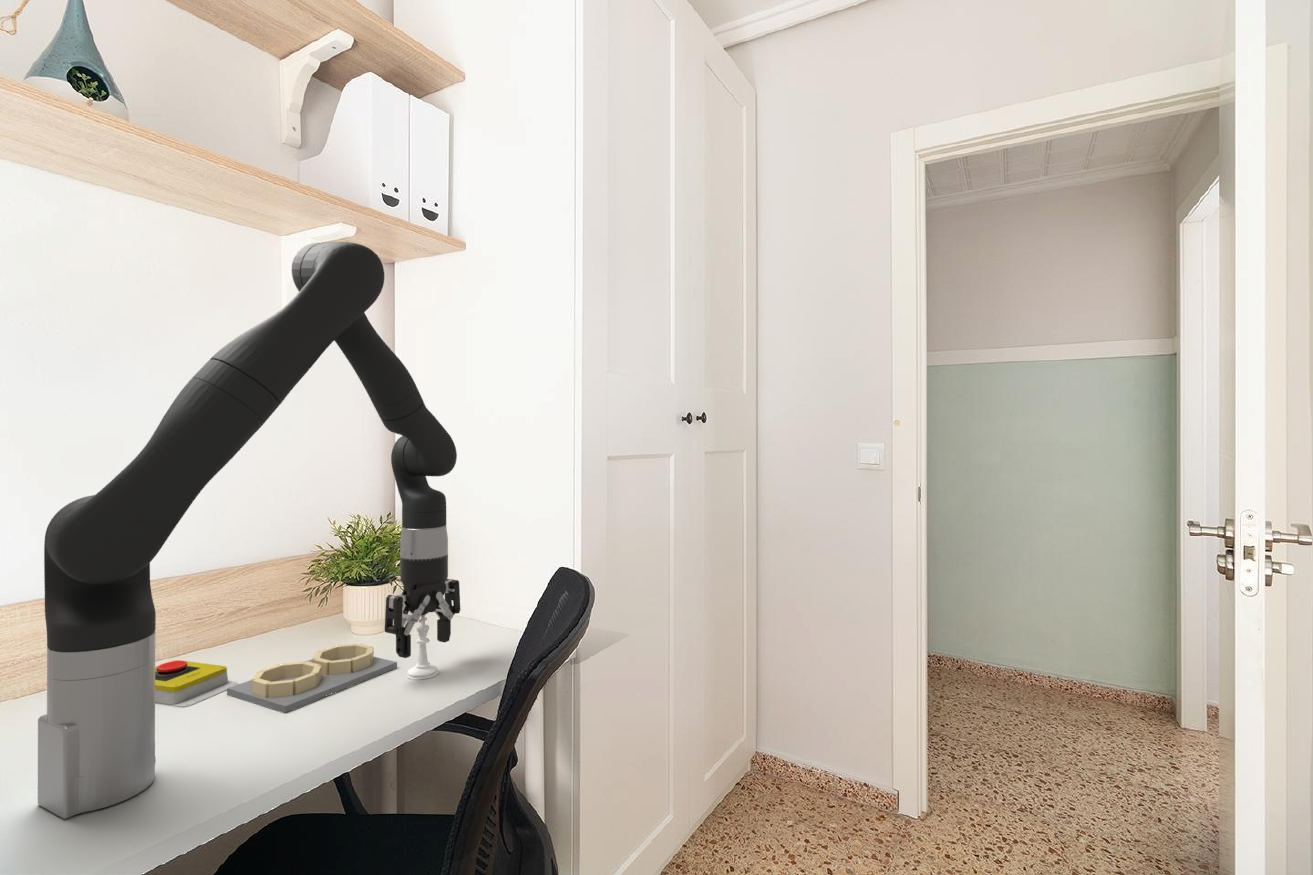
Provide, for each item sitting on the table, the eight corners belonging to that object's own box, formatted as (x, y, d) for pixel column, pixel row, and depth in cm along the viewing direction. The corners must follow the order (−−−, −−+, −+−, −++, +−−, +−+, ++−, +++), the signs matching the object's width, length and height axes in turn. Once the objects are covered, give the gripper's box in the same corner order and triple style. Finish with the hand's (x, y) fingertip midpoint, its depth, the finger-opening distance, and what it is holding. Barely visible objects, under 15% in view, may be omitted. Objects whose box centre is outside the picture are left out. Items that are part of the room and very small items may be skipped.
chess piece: (443, 670, 109) (444, 611, 109) (427, 681, 104) (428, 620, 104) (417, 667, 110) (418, 609, 110) (400, 678, 105) (401, 618, 105)
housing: (285, 713, 92) (285, 692, 92) (227, 694, 98) (227, 675, 98) (397, 667, 110) (397, 650, 110) (341, 654, 116) (341, 638, 116)
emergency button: (169, 650, 106) (241, 659, 102) (169, 677, 106) (241, 687, 102) (109, 670, 97) (185, 681, 93) (109, 699, 97) (185, 711, 93)
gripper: (406, 562, 99) (407, 666, 99) (471, 547, 112) (471, 639, 112) (373, 558, 102) (373, 658, 103) (439, 544, 115) (439, 633, 115)
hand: (424, 648), depth 107 cm, fingers open, 8 cm apart
